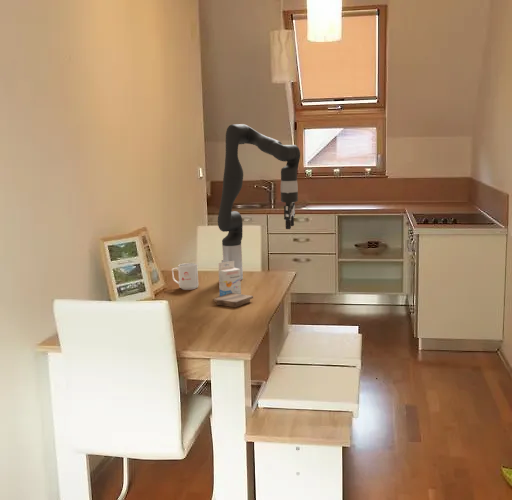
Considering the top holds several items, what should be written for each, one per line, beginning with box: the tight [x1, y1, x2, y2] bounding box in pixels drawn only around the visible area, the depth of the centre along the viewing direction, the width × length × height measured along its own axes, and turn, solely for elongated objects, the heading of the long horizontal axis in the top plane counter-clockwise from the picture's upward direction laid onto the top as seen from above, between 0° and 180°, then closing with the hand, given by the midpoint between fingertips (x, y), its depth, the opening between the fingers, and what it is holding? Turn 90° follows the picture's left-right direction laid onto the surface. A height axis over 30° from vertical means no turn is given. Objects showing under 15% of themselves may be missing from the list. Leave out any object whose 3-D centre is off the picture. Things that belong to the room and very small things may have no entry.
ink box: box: [218, 261, 242, 297], centre depth 298 cm, size 8×5×15 cm, turn 123°
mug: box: [171, 262, 199, 291], centre depth 316 cm, size 12×9×11 cm
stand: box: [212, 293, 254, 308], centre depth 284 cm, size 12×12×2 cm
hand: (289, 227), depth 300 cm, fingers open, 8 cm apart
